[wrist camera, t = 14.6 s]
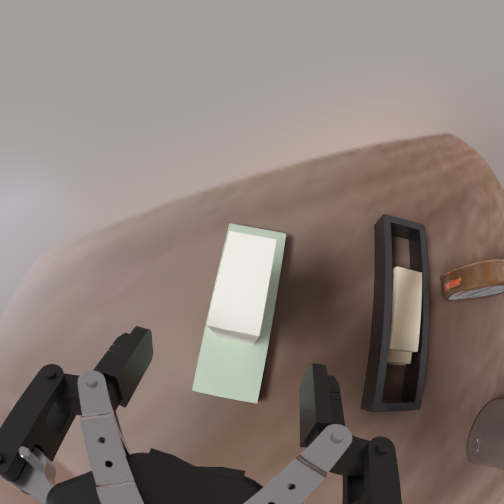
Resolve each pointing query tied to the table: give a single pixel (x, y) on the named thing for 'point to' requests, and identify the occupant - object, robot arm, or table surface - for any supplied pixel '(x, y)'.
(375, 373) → the frame
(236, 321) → the white rectangular block
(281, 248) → the board
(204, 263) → the table surface
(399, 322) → the offcut stack
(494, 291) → the tin
